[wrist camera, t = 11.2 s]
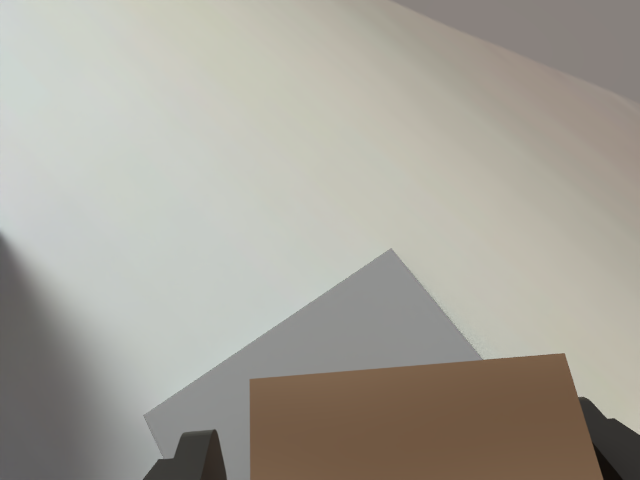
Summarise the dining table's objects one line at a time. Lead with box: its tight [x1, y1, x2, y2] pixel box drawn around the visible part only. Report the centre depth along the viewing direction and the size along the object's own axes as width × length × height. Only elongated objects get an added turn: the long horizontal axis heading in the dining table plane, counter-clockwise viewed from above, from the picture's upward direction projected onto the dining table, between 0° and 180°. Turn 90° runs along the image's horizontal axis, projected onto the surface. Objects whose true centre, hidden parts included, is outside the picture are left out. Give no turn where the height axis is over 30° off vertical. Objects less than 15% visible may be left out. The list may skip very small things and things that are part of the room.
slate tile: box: [143, 249, 483, 480], centre depth 15 cm, size 12×12×1 cm
